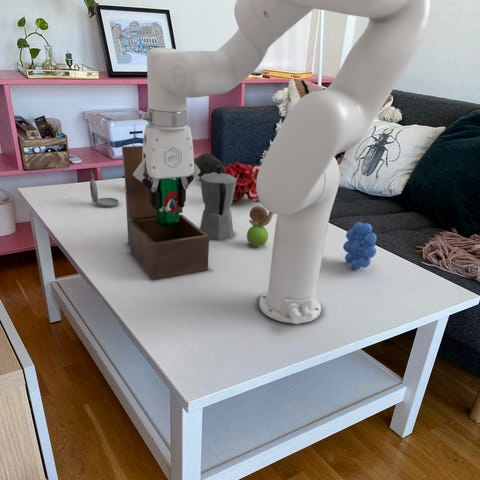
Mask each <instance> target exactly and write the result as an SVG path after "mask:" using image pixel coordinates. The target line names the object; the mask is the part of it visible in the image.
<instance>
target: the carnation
mask: <svg viewBox="0 0 480 480" xmlns="http://www.w3.org/2000/svg"><path fill="white" fill-rule="evenodd" d="M194 163H195V164H196V165H197V167H198V168H199V169H200V173H199V174H198V175H197V177H198V178H200V177H202V176H203V175H204V174H211V173H212V172H215V173H217V170H216V166H221V167H223V168H222V172H221V173H223V174H228V175H231V176H233V177H235V178H237V181H236V186H235V191H234V196H233V201H232V203H237V202H240V201H241V200H243V198H245V196H246V197H247V200H248V201H250V202H253V203H254V202H256V201H258V202H260V200H259V198H258V195H257V190H256V181H257V175H258V172H259V169H260V167H261V164H260V165H256V166H254V167H253V166H251V164H247V165H244V164H243V163H239V162H237V161H235V162H234V163H233V164H232V163H230V162H229V164H228V165H224V164H223V162H221V161H220V160H219V159H218V158H217V157H216V156H214V154H212V153H210V152H204V153H202V154H200V155H199V156H197V158H196V160H195V161H194Z"/></svg>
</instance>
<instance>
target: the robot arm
mask: <svg viewBox="0 0 480 480" xmlns="http://www.w3.org/2000/svg"><path fill="white" fill-rule="evenodd" d="M431 6H432V0H236V1H235V4H234V8H233V9H234V10H233V12H234V18H235V21H236V25H237V27H238V28H237V30H236V32H235V33H234V34H233V35H232V36H231V37H230V38H229V39H228V40H227V41H226V42H225V43H224V44H223V45H221V46H220V47H219V48H218V49H216V50H186V51H185V50H184V51H183V50H181V49H177V48H167V47H152V48H150V49H149V50H148V52H147V55H146V72H147V73H146V75H147V76H146V77H147V108H146V111H145V112H142V113H141V120H142V121H146V122H147V123H148V124H145V127H144V132H143V141H142V146H143V152H142V162H141V163H140V165H139V166H138V168H137V169H136V170H135V172H134V173H133V176H134V177H136V178H137V179H138V180H139V181H141V182H142V183H143V184H144V185H145V186H146V187H148V188H149V200H150V205H152V207H153V208H154V209H155V210H159V209H160V199H159V192H158V191H157V187H158V184H159V180H160V179H169V178H180V199H179V206H180V207H182V208H184V207H185V203H186V201H187V190H188V189H189V185H190V184H191V183H192V182H193V181H194V179H195V178H196V177H198V174H199V173H200V169H199V168H198V167H197V165H196V164H195V158H194V157H195V156H194V143H193V135H192V130H191V126H189V125H187V98H188V99H193V98H194V99H195V98H202V97H209V96H219V95H224V94H226V93H228V92H229V91H232V90H233V89H235V88H236V87H237V86H238V85H240V84H241V83H242V82H243V81H244V80H246V79H247V78H248V77H250V76H251V75H252V74H253V73H254V72H255V71H256V70H257V69H258V68H259V66H260V65H261V63H262V62H263V60H264V58H265V57H266V55H267V53H268V50H269V48H270V47H271V46H273V44H274V43H275V42H277V41H278V40H279V39H280V38H281V37H282V36H283V35H285V34H286V33H287V32H288V31H289V30H291V28H293V27H294V26H295V25H296V24H297V23H298V22H300V21H301V20H302V19H304V18H305V17H306V16H307V15H308V14H310V13H311V12H313V10H314V9H316V10H321V11H327V12H332V13H333V12H334V13H338V14H342V15H348V16H353V17H362V18H368V23H367V26H366V28H365V30H364V31H363V33H362V34H361V36H360V37H359V38H358V39H357V40H356V42H355V43H354V44H353V46H352V47H351V48H350V50H349V52H348V53H347V55H346V57H345V59H344V61H343V63H342V65H341V67H340V68H339V70H338V72H337V73H336V75H335V77H334V78H333V80H332V81H331V82H330V84H329V86H328V87H326V88H325V89H324V88H323V89H318V90H314V91H311V92H309V93H307V94H305V95H303V96H302V97H300V98H299V99H298V100H297V101H296V102H295V104H293V105H292V107H291V108H290V110H289V111H288V113H287V114H286V115H285V117H284V120H283V121H282V123H281V125H280V127H279V129H278V132H277V133H276V135H275V137H274V139H273V141H272V143H271V145H270V146H269V149H268V150H267V153H266V154H265V156H264V158H263V160H262V162H261V164H260V165H261V167H260V169H259V172H258V175H257V181H256V190H257V195H258V198H259V200H260V201H259V202H260V204H261V205H262V207H263V208H264V209H265V210H266V211H267V212H268V213H269V212H271V213H273V215H277V216H276V221H275V226H274V234H273V244H272V253H271V260H270V261H271V262H270V270H269V279H268V288H267V290H268V291H266V292H264V293H263V294H261V296H260V297H259V301H258V307H259V309H260V311H261V313H262V314H264V315H266V316H267V317H268V318H271V320H275V321H278V322H282V323H286V324H287V323H288V324H294V325H299V324H304V323H309V322H312V321H314V320H316V319H317V318H318V317H320V315H321V311H322V304H321V302H320V301H319V300H318V298H317V297H316V295H317V289H318V284H319V277H320V272H321V267H322V260H323V254H324V248H325V243H326V238H327V233H328V227H329V222H330V218H331V214H332V209H333V206H334V203H335V200H336V196H337V193H338V189H339V186H340V179H341V170H340V166H339V162H338V160H337V159H336V157H335V156H336V155H338V154H341V153H344V152H346V151H348V150H351V149H353V148H354V147H356V146H357V145H358V144H359V143H360V142H361V141H362V140H363V138H364V137H365V135H366V134H367V132H368V131H369V128H370V127H371V125H372V124H373V122H374V121H375V118H376V117H377V116H378V114H379V112H380V111H381V109H382V108H383V106H384V105H385V103H386V102H387V100H388V98H389V97H390V95H391V93H392V92H393V91H394V88H395V87H396V85H397V83H398V82H399V80H400V79H401V77H402V76H403V74H404V72H405V71H406V70H407V68H408V67H409V65H410V63H411V61H412V60H413V58H414V56H415V55H416V54H417V51H418V50H419V48H420V46H421V43H422V41H423V40H424V37H425V34H426V32H427V29H428V25H429V21H430V16H431V8H432V7H431ZM144 172H145V173H146V174H148V175H149V179H146V178H145V177H144V176H143V173H144Z"/></svg>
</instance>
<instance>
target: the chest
mask: <svg viewBox="0 0 480 480" xmlns="http://www.w3.org/2000/svg"><path fill="white" fill-rule="evenodd" d="M129 231H130V245H129V247H130V255H131V257H133V259H134V260H135V261H136V262H137V263H138V264H139V266H140V267H141V268H142V269H143V271H144V272H145V273H146V274H147V275H148V276H149V277H150V278H151V280H152V281H156V280H162V279H168V278H173V277H179V276H185V275H190V274H191V275H192V274H196V273H201V272H202V273H203V272H207V271H209V251H210V239H209V236H208V235H207V234H206V233H205V232H203V231H202V230H201V229H200V227H198V226H197V225H196V224H194V222H192V221H191V220H190V219H188V218H187V217H186V216H185V215H183V213H180V214H179V224H178V226H177V227H174V228H162V227H160V226H159V225H158V224H157V220H156V217H155V218H147V219H138V220H130V221H129Z"/></svg>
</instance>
